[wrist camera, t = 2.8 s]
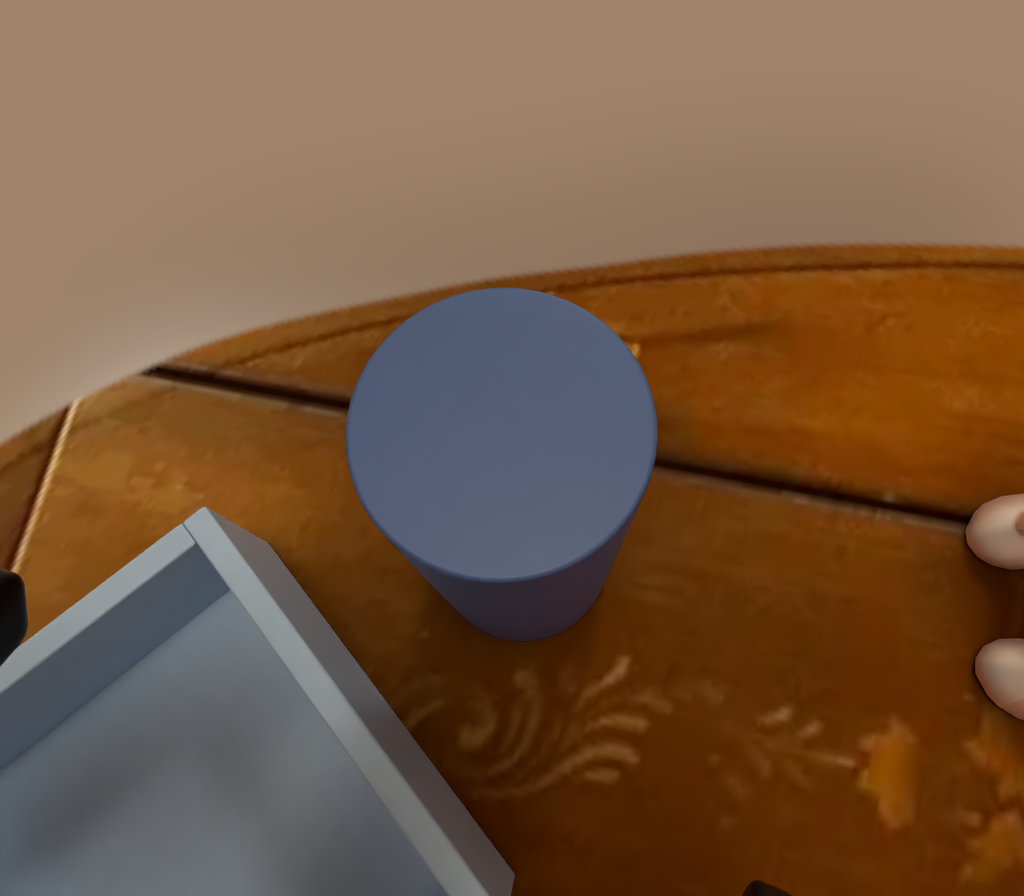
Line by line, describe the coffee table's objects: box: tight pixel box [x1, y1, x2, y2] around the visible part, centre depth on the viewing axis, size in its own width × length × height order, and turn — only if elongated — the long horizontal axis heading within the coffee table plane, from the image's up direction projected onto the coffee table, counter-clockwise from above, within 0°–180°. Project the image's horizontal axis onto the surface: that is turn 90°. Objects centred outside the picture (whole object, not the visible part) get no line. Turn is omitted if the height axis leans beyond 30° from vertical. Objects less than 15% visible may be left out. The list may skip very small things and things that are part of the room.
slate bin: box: [0, 507, 515, 896], centre depth 17 cm, size 10×10×4 cm
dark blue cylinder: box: [345, 288, 658, 641], centre depth 16 cm, size 4×4×10 cm
